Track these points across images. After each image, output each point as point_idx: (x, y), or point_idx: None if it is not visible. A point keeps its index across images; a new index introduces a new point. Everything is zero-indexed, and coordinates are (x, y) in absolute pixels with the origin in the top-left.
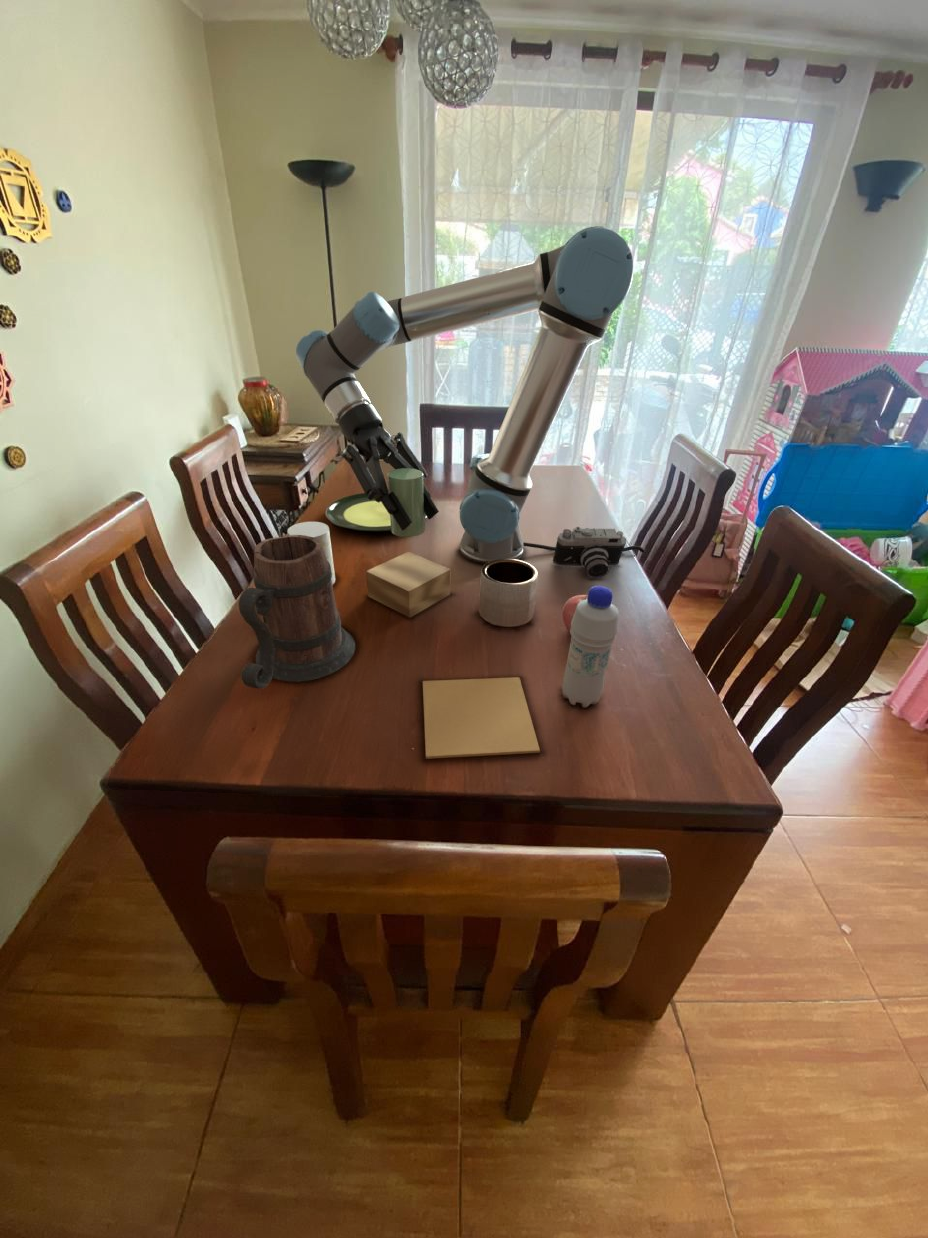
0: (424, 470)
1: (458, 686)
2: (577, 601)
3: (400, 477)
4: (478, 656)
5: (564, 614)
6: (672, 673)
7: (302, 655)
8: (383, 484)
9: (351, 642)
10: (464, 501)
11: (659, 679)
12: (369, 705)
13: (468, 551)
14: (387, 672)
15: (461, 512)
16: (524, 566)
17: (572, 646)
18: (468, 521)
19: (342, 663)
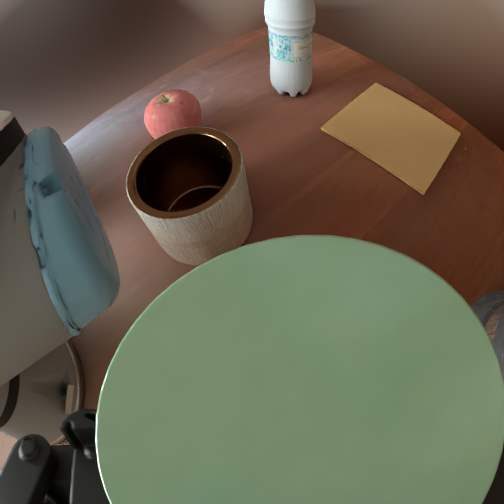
0: (11, 463)
1: (393, 159)
2: (175, 102)
3: (451, 369)
4: (328, 182)
5: (192, 121)
6: (194, 69)
7: None
8: (501, 458)
9: None
10: (68, 250)
11: (211, 70)
12: (484, 213)
13: (72, 403)
14: (450, 242)
15: (98, 275)
16: (139, 172)
17: (309, 35)
18: (108, 262)
19: (489, 295)
